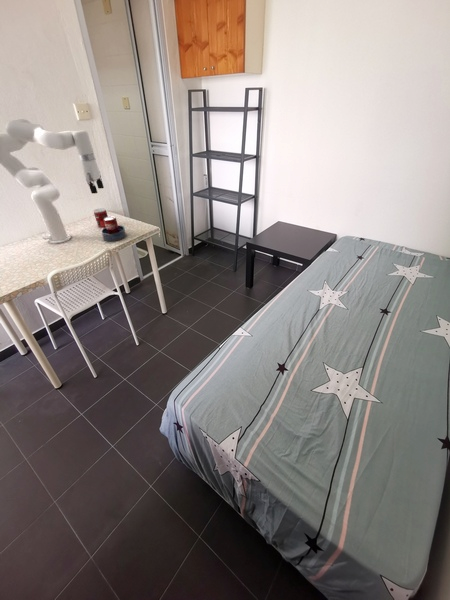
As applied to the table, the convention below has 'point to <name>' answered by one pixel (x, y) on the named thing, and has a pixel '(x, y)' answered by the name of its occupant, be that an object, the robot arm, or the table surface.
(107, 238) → the dark blue bowl
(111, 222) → the soda can
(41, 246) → the table surface
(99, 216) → the canned food
